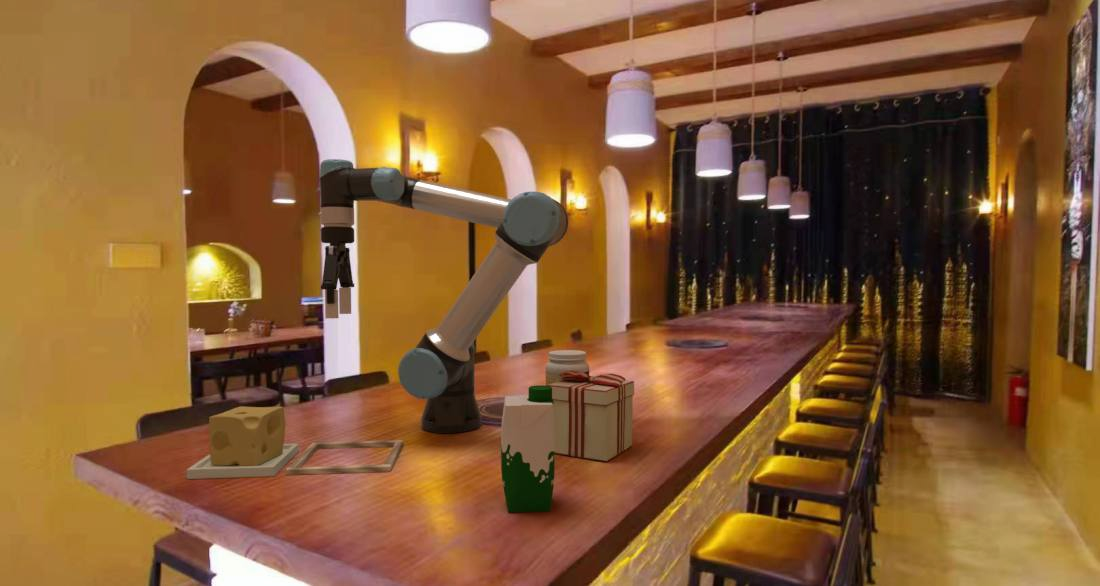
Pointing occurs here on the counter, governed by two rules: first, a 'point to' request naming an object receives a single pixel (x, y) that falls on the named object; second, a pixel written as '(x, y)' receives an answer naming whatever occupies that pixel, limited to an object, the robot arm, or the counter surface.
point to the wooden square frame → (298, 470)
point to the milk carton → (528, 450)
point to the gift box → (592, 415)
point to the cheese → (246, 435)
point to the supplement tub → (565, 364)
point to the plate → (232, 471)
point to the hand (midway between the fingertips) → (339, 316)
